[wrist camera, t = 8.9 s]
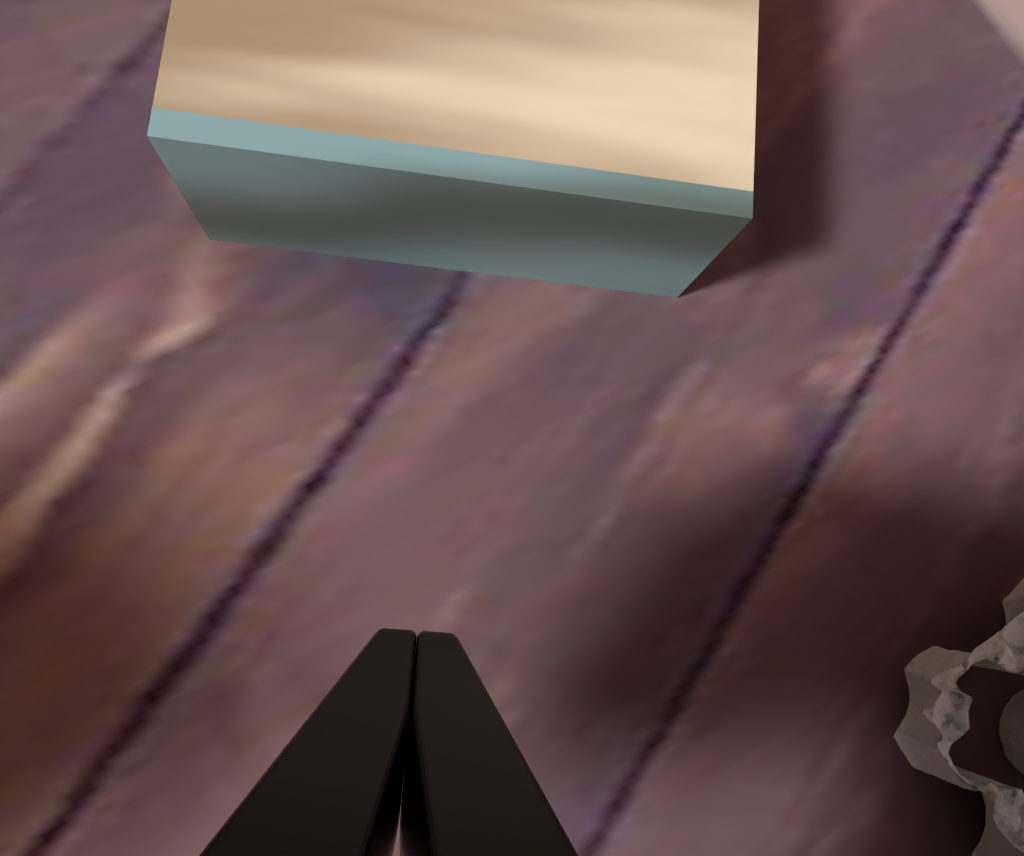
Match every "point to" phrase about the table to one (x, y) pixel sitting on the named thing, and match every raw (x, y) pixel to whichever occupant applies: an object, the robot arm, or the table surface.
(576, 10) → the birch block
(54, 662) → the table surface
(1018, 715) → the egg carton
